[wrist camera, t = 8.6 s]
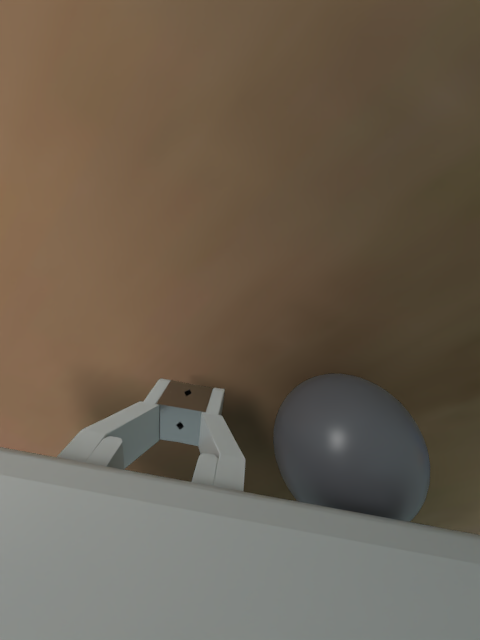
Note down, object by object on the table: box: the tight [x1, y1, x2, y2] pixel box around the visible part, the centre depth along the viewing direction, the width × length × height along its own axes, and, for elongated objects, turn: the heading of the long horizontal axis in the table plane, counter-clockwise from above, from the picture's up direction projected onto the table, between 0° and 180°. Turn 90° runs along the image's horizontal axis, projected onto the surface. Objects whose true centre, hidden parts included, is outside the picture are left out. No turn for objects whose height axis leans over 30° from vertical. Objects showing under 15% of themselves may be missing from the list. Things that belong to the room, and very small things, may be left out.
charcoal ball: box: [273, 373, 430, 522], centre depth 9 cm, size 6×6×6 cm
